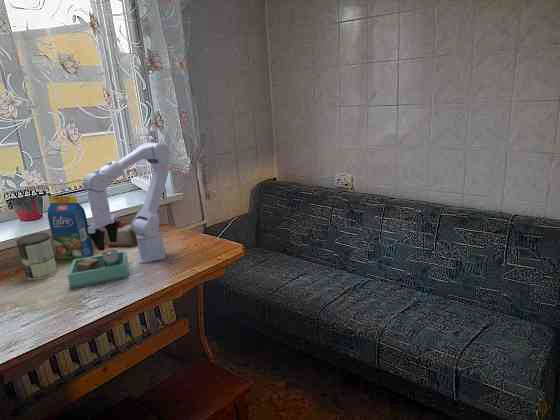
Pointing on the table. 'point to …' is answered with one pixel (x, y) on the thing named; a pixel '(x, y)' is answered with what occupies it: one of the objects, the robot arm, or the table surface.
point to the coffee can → (37, 256)
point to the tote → (98, 272)
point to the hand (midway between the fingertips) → (107, 245)
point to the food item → (124, 236)
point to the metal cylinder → (110, 258)
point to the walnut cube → (88, 265)
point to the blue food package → (69, 228)
